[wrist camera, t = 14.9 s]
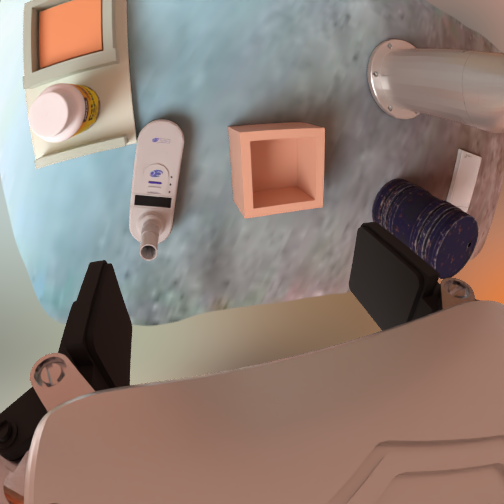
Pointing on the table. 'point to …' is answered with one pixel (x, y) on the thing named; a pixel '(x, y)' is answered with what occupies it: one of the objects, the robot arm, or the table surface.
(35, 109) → the supplement bottle
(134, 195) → the electronic device
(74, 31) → the cradle plate
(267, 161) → the cup
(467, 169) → the hard drive
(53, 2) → the cream tray with frame
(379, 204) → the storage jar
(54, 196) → the table surface
